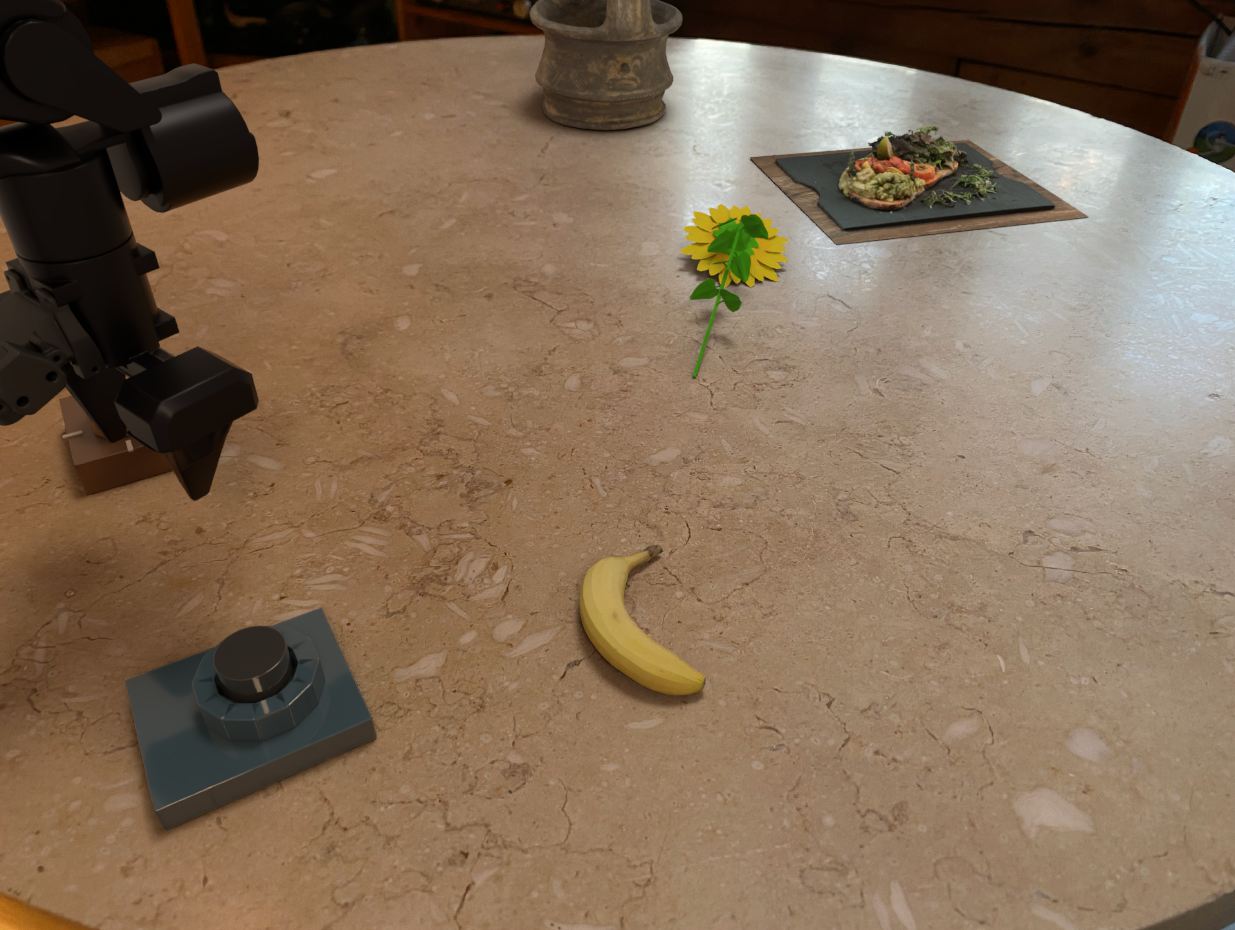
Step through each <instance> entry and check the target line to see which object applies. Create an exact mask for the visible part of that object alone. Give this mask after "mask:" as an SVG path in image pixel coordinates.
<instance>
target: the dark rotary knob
mask: <svg viewBox="0 0 1235 930" xmlns="http://www.w3.org/2000/svg"><path fill="white" fill-rule="evenodd" d="M267 626H268V625H253V626H248V627H244V628H241V629H239V630H236V631H234V632H233V633H230V634H229V635H228V636H226V637H225V638H223V640H221V641H220V642H221V643H220V642H219V643H220V645H219V646H218V648H217V649H216V651H215V654H214V658H213V664H214V668H215V670H216V673H217V675H218V678H219V681H220V683H221V686H222V688H223V691H224V692H225V694H226V695H227V696H228V697H230V698H231V699H233V700H236V701H239V702H247V703H249V702H258V701H262V700H264V699H267V698H269V697H271V696H273V695H275V694H276V693H278V692H279V691H280V690H282V689H283V688H284V687H285V686H286V684H287V683H288V682H289V680H290V678H291V676H292V672H293V663H292V660H291V657H290V653H289V650H288V647H287V643H286V640H285V638H284V636H283V635H282V634H281V633H280V632H279V631H277V630H276V629H274V628H271V627H267Z"/></svg>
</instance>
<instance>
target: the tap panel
mask: <svg viewBox="0 0 1235 930" xmlns="http://www.w3.org/2000/svg"><path fill="white" fill-rule="evenodd" d="M58 401H59V405H60V411H61V415H62V419H63V423H64V428H65V433H66V434H62V436H61V437H62V440H66V439H67V442H68V446H69V450H70V454H71V458H72V463H73V467H74V469H75V471H76V474H77V476H78V478H79V480H80V481H79V482H80V483H81V485H82V487H83V490H84V492H85V494H86V495H87V496H89V495H93V494H96V493H100V492H103V491H106V490H110V489H113V488H116V487H120V486H124V485H127V484H130V483H133V482H134V483H135V482H138V481H140V480H144V479H147V478H152V477H155V476H158V475H162V474H165V473H169V472H172V471H173V469H172V468H171V466H170V464H169V462H168V461H167V459H166V457H165V456H164V454H160V453H156V452H153V451H151V450H149V449H148V448H146V447H145V446H144V445H142V444H141V443H139V442H138V441H136V440H135V439H133V438H132V437H130V436H126V437H125V438H123V439H121V440H119V441H117V442H115V443H111V442H109V441H108V440H107V439H106V438H104V437H100V436H98V435H96V434H95V433H94V432H93V430H92V428H91V426H90V423H89V421H88V418H87V416H86V414H85V412H84V410H83V409H82V408H81V407H80V405H79V404H78V403H77V402H76V400H75V399H74V398H73V396H72V395H68V396H64V397H60V398H59V399H58ZM221 455H222V454H221ZM221 455H220V457H221Z"/></svg>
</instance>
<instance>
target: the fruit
mask: <svg viewBox="0 0 1235 930" xmlns="http://www.w3.org/2000/svg"><path fill="white" fill-rule="evenodd" d="M662 553H664V550H663V548H662V546H661V544H652V545H649V546H647V547H646V548H644V549H643V550H641V551H639V552H637V553H635V554H631V555H628V556H622V557H613V556H612V557H611V556H609V557H607V556H606V557H605V558H602V559H600V560H599V561H597V562H595V563H594V564H593V565H592V566H590V568H588V569H587V571H586V574H585V576H584V578H583V579H582V582H581V586H580V590H579V615H580V621H581V623H582V626H583V629H584V632H585V633H586V635H587V637H588V639H589V641H590V642H591V643H592V645H593V646H594V648H595V649H596V650H597V651H598V653H599V654H600V655H601V656H602V657H603V658H604V659H605V660H606V661H607V662H608V663H609V664H610V665H611V666H612V667H614V668H616V669H617V670H619V671H620V672H621V673H622V674H624V675H625V676H627V677H628V678H630V679H631V680H633V681H634V682H636V683H637V684H639V685H640V686H642V687H644V688H647V689H649V690H650V691H652V692H656V693H659V694H663V695H669V696H685V695H691V694H696V693H700V692H703V690H704V688H705V687H706V681H707V676H706V675H705V674H703V673H701V672H699V671H698V670H696V669H694V668H693V667H691V665H689V664H688V663H687V662H686V661H684V660H683V658H680V657H679V656H678V655H676V654H675V653H674V652H672V651H670V650H668V649H667V648H665V647H664V646H663V645H661V644H659V643H658V642H656V641H655V640H653V639H652V637H650V636H649V635H648V634H646V633H645V632H644V631H643V630H642V629H641V628H640V627H639V626H638V625H637V624H636V623H635V622H634V620H633V619H632V618H631V616H630V615H629V612H628V611H627V608H626V605H625V591H626V586H627V582H628V577H629V574H630V572H631V570H632V569H633V568H635V567H638V566H639V565H641V564H644V563H647V562H649V561H650V560H651V559H653V558H655V557H657V556H659V555H660V554H662Z"/></svg>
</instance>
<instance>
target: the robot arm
mask: <svg viewBox="0 0 1235 930" xmlns="http://www.w3.org/2000/svg"><path fill="white" fill-rule="evenodd" d="M74 116H76V117H78V118H82V119H84V120H86V121H82V122H78V123H73V124H69V125H66V126H65V125H64V126H60V127H54V125H52V124H57V123H62V122H64V121H67V120H69V119H70V118H72V117H74ZM0 121H7V122H14V123H9V124H6V125H2V126H0V218H1V221H2V223H3V227H4V228H5V230H6V233H7V235H8V238H9V240H10V243H11V245H12V247H13V250H14V253H15V255H16V258H14V259H11V260H8V261H5V265H6V268H7V270H4V271H3V275H4V278H5V280H6V283H7V285H8V288H9V289H8V290H5V291H3V292H0V427H1V426H2V427H6V426H7V427H8V426H11V425H14V424H16V423H17V422H18V423H19V421H21V420H22V419H24V417H27V416H33V415H35V414H37V413H38V412H39V411H40V410H42V409H43V408H45V406H46V405H47V404H49V403H50V402H51V401H52V400H53V399H55V397H57V396H58V395H59V394H60V393H61V392H62V391H64V389H65V390H67V392H68V393H69V395H70V396H73V398H74V399H75V400H76V402H77V403H78V404H79V405H80V407H81V408H82V409H83V410H84V412H85V413H86V414H87V415H88V417H89V418H90V419H91V420H92V422H93V423H94V424H95V425H96V427H97V428H98V429H99V430H100V432H101V433H102V434H103V435H104V437H105V438H106V439H107V440H108V441H109V442H111V443H115V442H117V441H119V440H121V439H123V438H125V437H126V434H127V435H129V436H130V437H132V438H133V439H135V440H136V441H138V442H139V443H141V444H142V445H144V446H145V447H146V448H148V449H149V450H151V451H153V452H156V453H160V454H164V456H165V457H166V459H167V461H168V462H169V464H170V466H171V468H172V469H173V470H172V471H173V473H174V475H175V477H176V479H177V480H178V482H179V483H180V486H181V487H182V488H183V489H184V491H185V493H186V494H187V496H188V498H189V500H192V501H194V502H197V501H199V500H200V499H202V498H204V497H206V496H207V495H209V494H210V492H211V489H212V485H213V481H214V478H215V474H216V471H217V468H218V465H219V462H220V458H221V456H220V455H222V451H223V449H224V445H225V442H226V439H227V437H228V434H229V432H230V430H231V427H232V426H233V423H234V421H237V420H239V419H240V418H242V417H245V416H246V415H248V414H249V413H252V412H254V411H256V410H257V409H258V406H259V402H260V399H259V396H258V391H257V389H256V384H255V380H254V377H253V374H252V373H251V372H250V371H248V370H246V369H244V368H243V367H241V366H239V365H237V364H236V363H234V362H232V361H231V360H229V359H227V358H225V357H223V356H221V355H220V354H218V353H216V352H214V351H211V350H208V349H206V348H203V347H202V346H198V345H197V346H195V347H193V348H190V349H189V350H186V351H184V352H182V353H179V354H177V355H175V354H174V353H173V354H172V353H171V352H169V351H167V350H166V349H165V348H163V347H161V344H160V342H161V341H164V340H166V339H168V338H170V337H172V336H175V335H177V334H179V333H180V329H179V326H178V322H177V320H176V319H177V318H176V316H174V315H172V314H170V313H168V312H166V311H164V310H163V309H161V308H160V307H158V306H157V302H156V299H155V296H154V292H153V290H152V286H151V284H150V280H149V277H148V273H152V272H154V271H157V270H158V269H160V268H161V267H160V264H159V261H158V258H157V255H156V251H155V250H153V249H151V248H149V247H147V246H145V245H143V244H141V243H139V242H137V240H136V237H135V234H134V230H133V226H132V224H131V221H130V218H129V214H128V211H127V209H126V205H125V203H124V202H125V201H124V199H123V196H125V198H127V199H128V200H130V201H133V202H137V201H141V203H143V204H144V205H145V206H146V207H147V208H149V209H150V210H152V211H153V212H156V213H160V214H165V213H167V212H171V211H173V210H176V209H178V208H181V207H184V206H187V205H190V204H192V203H196V202H199V201H202V200H205V199H208V198H209V197H213V196H216V195H218V194H222V193H224V192H227V191H230V190H233V189H236V188H239V187H242V186H245V185H247V184H250V183H252V182H253V181H255V179H256V177H257V175H258V172H259V166H260V156H259V147H258V144H257V139H256V137H255V135H254V134H253V133H252V132H250V130H249V127H248V125H247V123H246V121H245V119H244V117H243V115H242V113H241V112H240V110H239V109H238V107H237V106H236V105H235V102H233V101H232V100H231V98H230V97H229V96H228V95H227V94H226V93H225V92H224V91H223V88H222V84H221V80H220V76H219V72H218V71H216V70H215V69H213V68H210V67H207V66H203V65H201V64H199V63H195V62H194V63H189V64H185V65H181V66H178V67H175V68H173V69H172V70H170V71H168V72H166V73H164V74H162V75H161V74H160V75H157V76H154V77H149V78H145V79H141V80H136V81H133V82H129V83H128V82H127V81H126V80H125V79H124V78H123V77H122V76H120V75H119V74H118V73H117V72H116V71H115V70H113V69H112V68H111V67H110V66H109V65H107V63H105V62H104V61H103V60H102V59H101V58H100V57H98V56H97V55H96V53H95V51H94V48H93V44H92V39H91V37H90V36H89V34H88V32H87V30H86V29H85V26H84V25H83V23H82V22H81V20H80V19H79V18H78V17H77V16H76V15H75V14H74V13H73V12H72V11H71V10H70V9H69V8H68V7H67V6H66V5H65V4H64V2H63V1H61V0H0ZM126 376H128V377H129V378H127V379H126ZM127 428H128V429H129V431H127Z"/></svg>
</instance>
